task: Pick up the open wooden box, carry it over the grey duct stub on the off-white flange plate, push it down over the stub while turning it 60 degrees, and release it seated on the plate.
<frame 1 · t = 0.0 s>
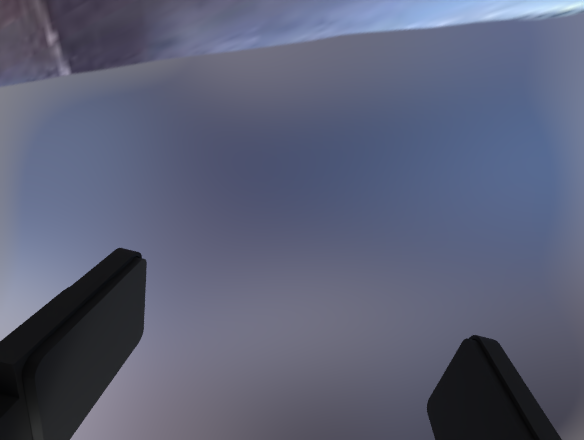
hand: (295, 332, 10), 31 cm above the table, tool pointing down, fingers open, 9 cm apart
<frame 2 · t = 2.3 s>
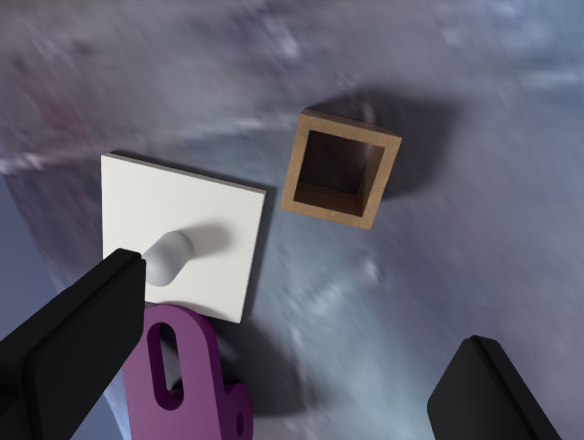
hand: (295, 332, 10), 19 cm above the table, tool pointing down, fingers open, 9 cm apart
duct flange: (181, 242, 31), on the table
open wooden box: (335, 159, 27), on the table
mounting bracket: (196, 360, 37), on the table
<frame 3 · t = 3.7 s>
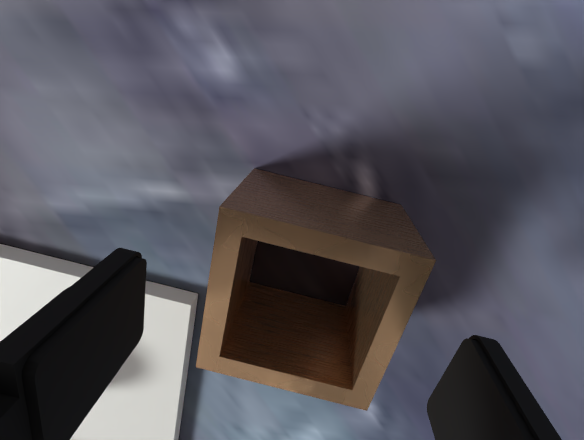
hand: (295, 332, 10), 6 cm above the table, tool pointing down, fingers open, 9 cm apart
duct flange: (74, 358, 20), on the table
open wooden box: (309, 251, 16), on the table
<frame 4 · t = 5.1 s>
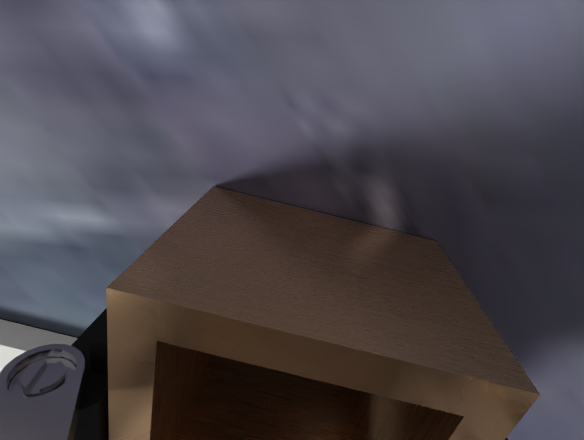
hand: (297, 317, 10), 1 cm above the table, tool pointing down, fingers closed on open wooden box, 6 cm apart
open wooden box: (298, 303, 11), on the table, touching gripper
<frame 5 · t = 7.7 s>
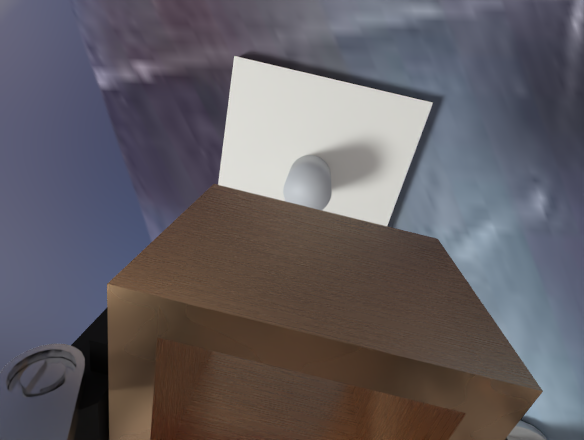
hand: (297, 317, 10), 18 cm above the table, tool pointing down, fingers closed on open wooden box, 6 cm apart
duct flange: (310, 172, 26), on the table
open wooden box: (299, 301, 11), point 17 cm above the table, touching gripper
when the fingers open (3 cm above the table, at t = 10.2 s): open wooden box stays where it is, resting on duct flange.
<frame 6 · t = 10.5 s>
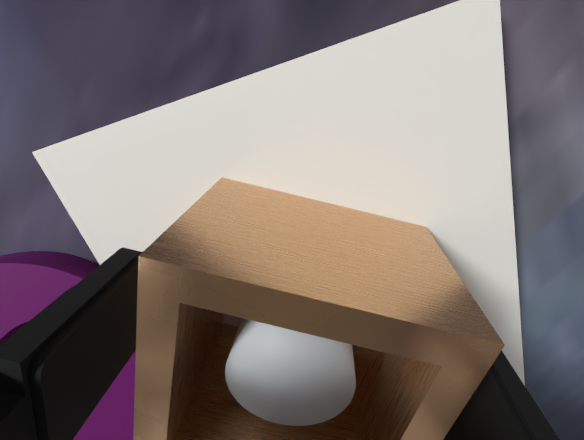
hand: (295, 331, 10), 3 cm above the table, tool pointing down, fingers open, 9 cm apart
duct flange: (302, 271, 13), on the table
open wooden box: (300, 286, 12), point 1 cm above the table, touching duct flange
mounting bracket: (38, 365, 17), on the table
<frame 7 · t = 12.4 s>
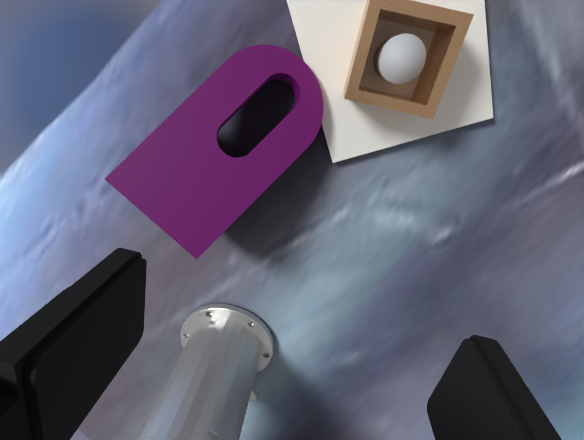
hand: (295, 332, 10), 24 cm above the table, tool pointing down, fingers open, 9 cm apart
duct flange: (391, 59, 28), on the table
open wooden box: (393, 59, 27), point 1 cm above the table, touching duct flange
mounting bracket: (240, 136, 33), on the table
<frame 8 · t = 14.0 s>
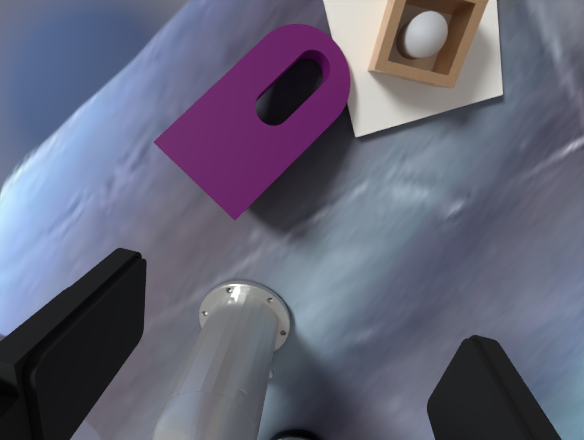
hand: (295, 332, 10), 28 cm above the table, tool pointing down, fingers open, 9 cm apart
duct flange: (411, 41, 31), on the table
open wooden box: (414, 40, 30), point 1 cm above the table, touching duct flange
mounting bracket: (269, 114, 35), on the table
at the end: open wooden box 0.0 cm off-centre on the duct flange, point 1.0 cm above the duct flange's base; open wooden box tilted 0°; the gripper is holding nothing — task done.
